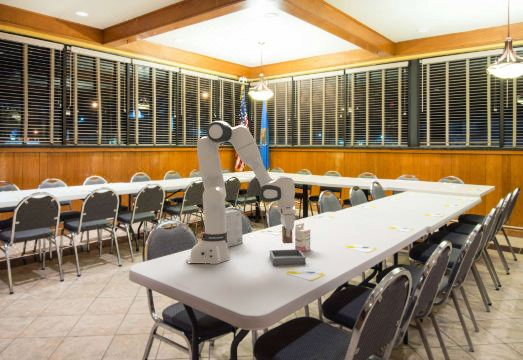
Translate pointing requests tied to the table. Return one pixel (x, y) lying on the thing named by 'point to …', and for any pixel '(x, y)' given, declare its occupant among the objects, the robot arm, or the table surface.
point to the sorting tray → (287, 257)
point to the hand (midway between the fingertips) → (287, 235)
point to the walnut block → (284, 237)
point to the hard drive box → (234, 227)
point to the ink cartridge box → (302, 238)
